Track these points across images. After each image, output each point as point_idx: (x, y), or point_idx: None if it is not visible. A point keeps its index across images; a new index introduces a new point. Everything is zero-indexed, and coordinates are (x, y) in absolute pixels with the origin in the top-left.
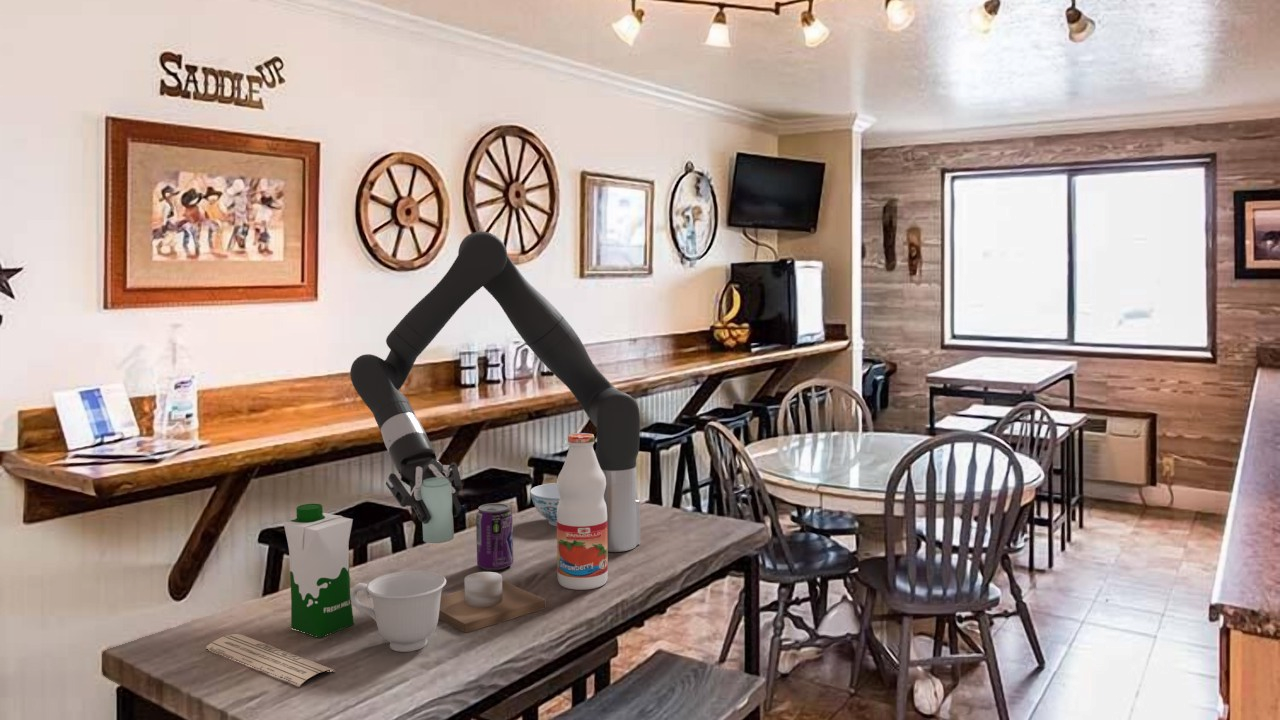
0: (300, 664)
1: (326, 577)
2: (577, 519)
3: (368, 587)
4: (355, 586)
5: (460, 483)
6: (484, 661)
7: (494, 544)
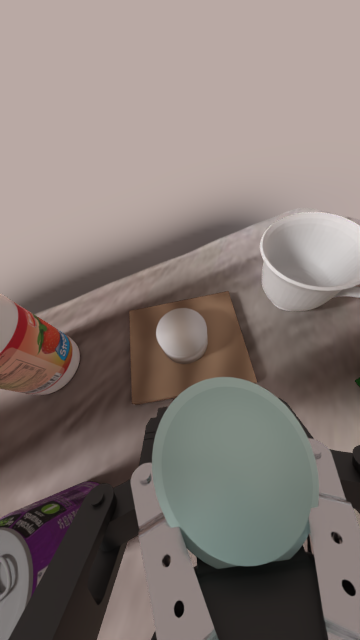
0: None
1: None
2: (3, 296)
3: None
4: None
5: (82, 515)
6: (230, 244)
7: (78, 498)
